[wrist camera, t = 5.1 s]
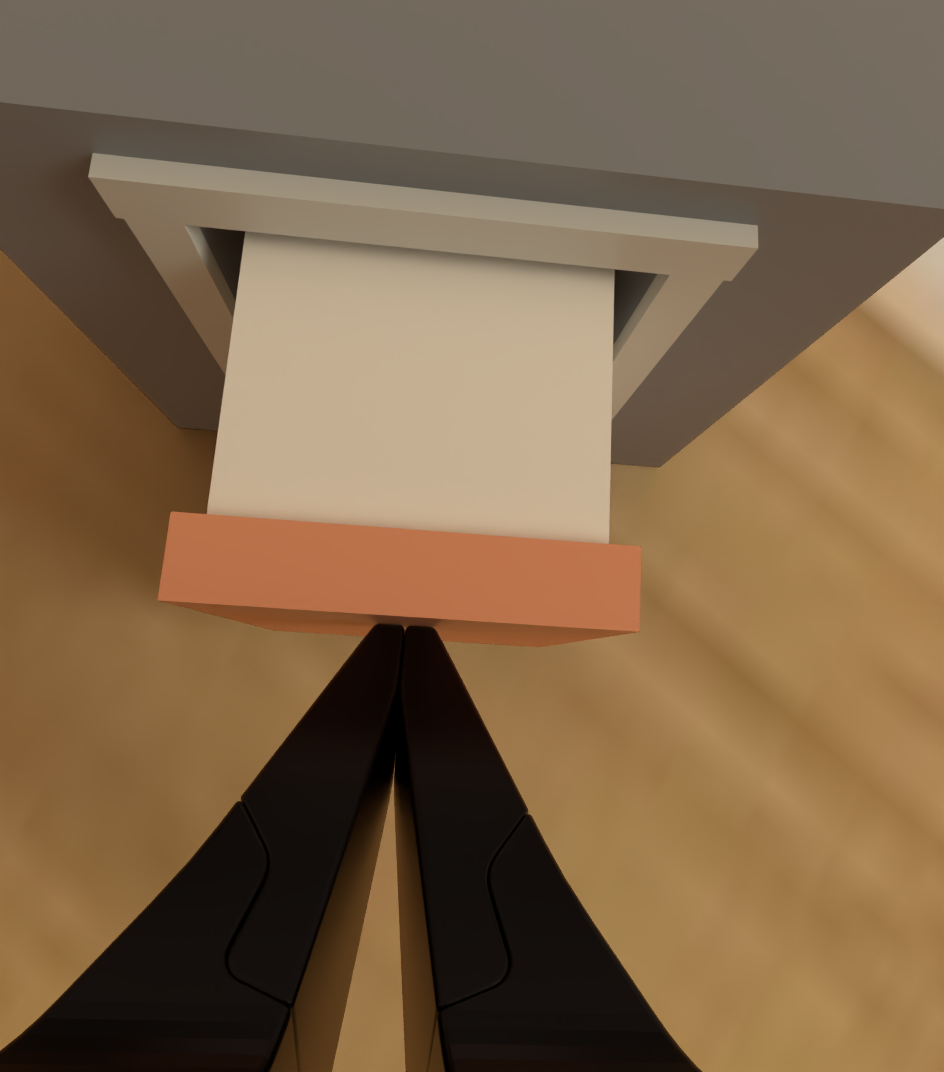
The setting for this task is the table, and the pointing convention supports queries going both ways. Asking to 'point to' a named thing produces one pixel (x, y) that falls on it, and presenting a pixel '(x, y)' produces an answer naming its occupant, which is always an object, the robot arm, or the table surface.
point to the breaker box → (478, 168)
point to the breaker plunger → (412, 450)
